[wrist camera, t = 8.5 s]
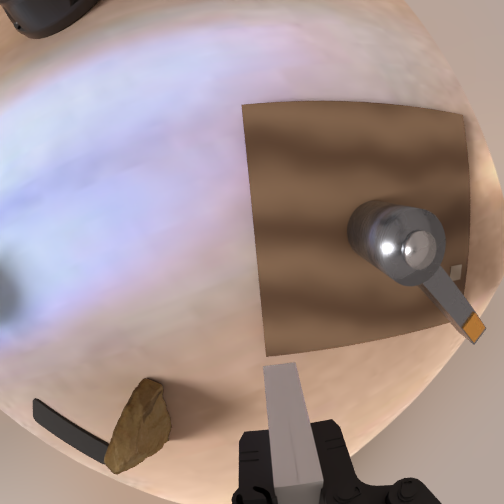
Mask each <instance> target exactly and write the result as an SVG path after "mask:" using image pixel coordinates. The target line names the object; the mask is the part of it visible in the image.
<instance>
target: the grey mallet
mask: <svg viewBox="0 0 504 504" xmlns="http://www.w3.org/2000/svg"><path fill="white" fill-rule="evenodd" d="M347 238H348V242H349V244H350V246H351V248H352V249H353V251H354V252H355V253H356V254H358V255H359V256H360V257H362V258H363V259H365V260H366V261H368V262H369V263H370V264H372V265H373V266H375V267H376V268H377V269H379V270H380V271H382V272H383V273H384V274H386V275H387V276H389V277H390V278H391V279H393V280H394V281H396V282H397V283H399V284H401V285H403V286H418V287H419V288H420V289H421V290H422V291H423V292H424V293H425V294H426V295H427V297H428V298H429V299H430V300H431V301H432V302H433V303H434V304H435V305H436V307H437V308H438V309H439V310H440V311H441V312H442V313H443V315H444V316H445V317H446V318H447V319H448V320H449V321H450V323H451V324H452V325H453V326H454V327H455V329H456V330H457V331H458V332H459V333H460V334H462V335H463V336H464V337H465V338H466V339H468V340H469V341H470V342H471V343H473V344H475V343H476V342H477V340H478V339H479V337H480V336H481V335H482V334H483V332H484V331H485V330H486V327H485V326H484V324H483V323H482V321H481V320H480V318H479V317H478V315H477V314H476V312H475V311H474V309H473V308H472V306H471V305H470V304H469V302H468V301H467V299H466V298H465V297H464V295H463V294H462V293H461V291H460V290H459V289H458V287H457V286H456V285H455V283H454V282H453V281H452V279H451V278H450V277H449V276H448V274H447V273H446V272H445V271H444V269H443V268H442V267H441V266H440V265H441V263H442V260H443V257H444V254H445V247H446V238H445V232H444V229H443V226H442V224H441V222H440V221H439V219H438V218H437V217H436V216H435V215H434V214H433V213H431V212H430V211H428V210H425V209H420V208H415V207H410V206H404V205H399V204H393V203H388V202H382V201H368V202H365V203H363V204H361V205H360V206H358V207H357V208H356V209H355V210H354V212H353V213H352V215H351V216H350V219H349V221H348V225H347Z"/></svg>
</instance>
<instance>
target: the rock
mask: <svg viewBox="0 0 504 504" xmlns="http://www.w3.org/2000/svg"><path fill="white" fill-rule="evenodd" d="M162 395H163V387H162V385H161V384H160V383H157V382H154V381H152V380H150V379H146V378H145V379H143V380H142V381H141V382H140V383H139V385H138V387H136V388H135V390H134V391H133V393H132V395H131V397H130V399H129V401H128V403H127V404H126V405H125V407H124V409H123V411H122V414H121V417H120V418H119V420H118V422H117V425H116V427H115V429H114V431H113V435H112V438H111V441H110V444H109V446H108V448H107V451H106V454H105V457H104V463H105V464H106V466H107V467H108V468H109V469H110V470H111V472H112V473H114V474H119V473H121V472H123V471H127V470H129V469H130V468H133V467H135V466H136V465H138V464H139V463H141V462H143V461H144V460H145V458H147V457H149V456H152V455H153V454H155V453H157V452H158V451H159V450H160V449H161V448H162V447H163V445H164V443H166V442H167V441H169V439H168V436H169V432H170V430H171V428H172V426H171V422H170V417H169V413H168V412H167V409H166V404H165V402H164V400H163V398H162Z"/></svg>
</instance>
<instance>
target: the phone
mask: <svg viewBox="0 0 504 504" xmlns="http://www.w3.org/2000/svg"><path fill="white" fill-rule="evenodd" d="M33 418H34V419H35V421H36V422H37V423H39V424H40V425H41V426H43V427H44V428H45V429H47V430H48V431H50V432H51V433H52V434H54V435H55V436H57V437H58V438H60V439H61V440H63V441H64V442H66V443H68V444H69V445H71V446H72V447H74V448H76V449H77V450H79V451H80V452H82V453H84V454H86V455H87V456H89V457H91V458H93V459H94V460H96V461H98V462H100V463H102V464H105V463H104V457H105V454H106V451H107V448H108V446H109V444H108V443H106V442H104V441H103V440H101V439H99V438H97V437H95V436H94V435H92V434H90V433H88V432H87V431H85V430H83V429H82V428H80V427H78V426H77V425H75V424H74V423H72V422H70V421H69V420H67V419H66V418H64V417H63V416H61V415H60V414H58V413H57V412H55V411H54V410H52V409H51V408H50V407H48V406H47V405H45V404H44V403H43V402H41V401H40V400H38V399H36V398H35V399H34V400H33Z"/></svg>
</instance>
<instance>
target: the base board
mask: <svg viewBox="0 0 504 504" xmlns="http://www.w3.org/2000/svg"><path fill="white" fill-rule="evenodd" d="M242 114H243V124H244V133H245V143H246V153H247V163H248V173H249V183H250V193H251V203H252V213H253V223H254V234H255V244H256V254H257V264H258V275H259V285H260V296H261V306H262V317H263V327H264V338H265V348H266V357H268V356H278V355H287V354H295V353H303V352H310V351H318V350H324V349H331V348H337V347H343V346H349V345H354V344H360V343H365V342H370V341H375V340H380V339H385V338H390V337H394V336H399V335H403V334H407V333H411V332H416V331H420V330H424V329H427V328H431V327H435V326H439V325H442V324H446V323H449V322H450V321H449V320H448V319H447V318H446V317H445V316H444V315H443V313H442V312H441V311H440V310H439V309H438V308H437V307H436V305H435V304H434V303H433V302H432V301H431V300H430V299H429V298H428V297H427V295H426V294H425V293H424V292H423V291H422V290H421V289H420V288H419V287H418V286H403V285H401V284H399V283H397V282H396V281H394V280H393V279H391V278H390V277H389V276H387V275H386V274H384V273H383V272H382V271H380V270H379V269H377V268H376V267H375V266H373V265H372V264H370V263H369V262H368V261H366V260H365V259H363V258H362V257H360V256H359V255H358V254H356V253H355V252H354V251H353V249H352V248H351V246H350V244H349V242H348V238H347V225H348V221H349V219H350V216H351V215H352V213H353V212H354V210H355V209H356V208H357V207H358V206H360V205H361V204H363V203H365V202H368V201H382V202H388V203H393V204H399V205H404V206H410V207H415V208H420V209H425V210H428V211H430V212H431V213H433V214H434V215H435V216H436V217H437V218H438V219H439V221H440V222H441V224H442V226H443V229H444V232H445V238H446V247H445V254H444V257H443V260H442V263H441V265H440V266H441V267H442V268H443V269H444V271H445V272H446V273H447V274H448V276H449V277H450V278H451V279H452V281H453V282H454V283H455V285H456V286H457V287H458V289H459V290H460V291H461V293H462V294H463V295H464V289H465V281H466V273H467V263H468V252H469V236H470V180H469V164H468V152H467V143H466V135H465V128H464V121H463V115H461V114H456V113H451V112H445V111H439V110H433V109H426V108H419V107H411V106H403V105H393V104H382V103H368V102H348V101H292V102H271V103H257V104H246V105H242Z"/></svg>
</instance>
